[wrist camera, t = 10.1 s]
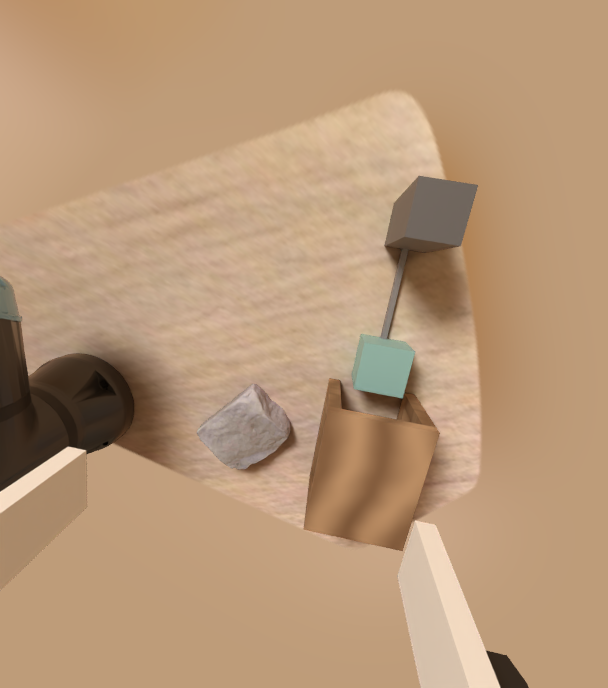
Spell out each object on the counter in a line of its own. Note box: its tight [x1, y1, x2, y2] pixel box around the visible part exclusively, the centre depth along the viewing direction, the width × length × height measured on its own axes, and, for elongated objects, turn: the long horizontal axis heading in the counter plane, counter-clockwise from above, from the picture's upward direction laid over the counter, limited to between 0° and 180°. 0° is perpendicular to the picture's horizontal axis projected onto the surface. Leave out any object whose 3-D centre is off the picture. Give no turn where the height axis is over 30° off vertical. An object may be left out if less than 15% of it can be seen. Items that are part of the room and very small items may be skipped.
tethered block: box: [352, 176, 478, 398], centre depth 34 cm, size 6×22×11 cm, turn 170°
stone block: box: [197, 384, 290, 470], centre depth 45 cm, size 12×5×10 cm
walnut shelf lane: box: [304, 378, 440, 551], centre depth 39 cm, size 12×16×10 cm
